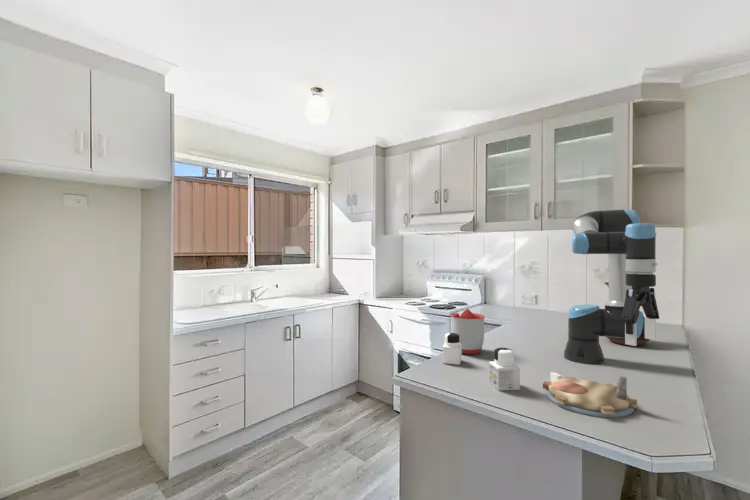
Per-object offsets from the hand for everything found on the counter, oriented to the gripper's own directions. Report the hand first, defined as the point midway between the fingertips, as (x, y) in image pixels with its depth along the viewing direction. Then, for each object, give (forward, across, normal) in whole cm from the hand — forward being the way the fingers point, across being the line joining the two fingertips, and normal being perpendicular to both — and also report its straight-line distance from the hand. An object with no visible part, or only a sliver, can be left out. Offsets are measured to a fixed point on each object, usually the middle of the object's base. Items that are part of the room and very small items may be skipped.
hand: (640, 342), depth 111 cm
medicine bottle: (+19, -19, +62) cm, 68 cm away
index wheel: (+18, -11, +10) cm, 23 cm away
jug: (+18, +78, +36) cm, 88 cm away
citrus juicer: (+19, -1, +70) cm, 73 cm away
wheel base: (+19, -10, +13) cm, 25 cm away
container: (+19, -23, +32) cm, 44 cm away
